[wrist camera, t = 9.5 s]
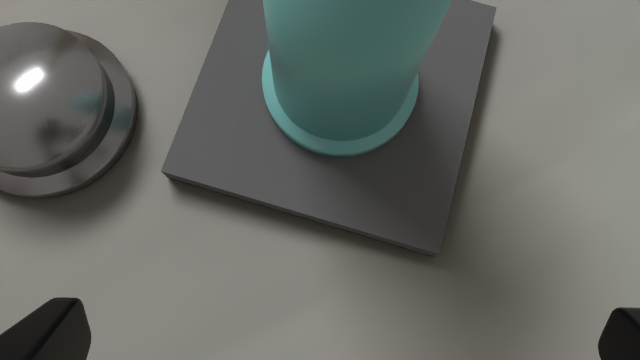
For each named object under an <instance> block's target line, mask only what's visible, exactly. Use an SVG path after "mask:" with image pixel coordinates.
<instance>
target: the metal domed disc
mask: <svg viewBox="0 0 640 360" xmlns="http://www.w3.org/2000/svg"><path fill="white" fill-rule="evenodd" d="M136 119H137V98H136V93H135V89H134V86H133V83H132V81H131V78H130V76H129V75H128V73H127V71H126V70H125V68H124V67H123V66H122V64H121V63H120V62H119V60H118V59H117V58H116V57H115V55H114V54H113V53H112V52H111V51H110V50H109V49H107V48H106V47H105V46H104V45H102V44H101V43H99V42H98V41H96V40H94V39H92V38H90V37H88V36H86V35H83V34H80V33H77V32H73V31H68V30H63V29H61V28H59V27H56V26H53V25H49V24H44V23H35V22H23V23H15V24H10V25H6V26H2V27H0V190H1V191H4V192H6V193H9V194H12V195H16V196H20V197H26V198H50V197H57V196H61V195H65V194H69V193H72V192H74V191H77V190H79V189H82V188H84V187H85V186H87V185H89V184H91V183H93V182H94V181H95V180H97V179H98V178H100V177H101V176H102V175H104V174H105V173H106V172H107V171H108V170H109V169H110V168H111V167H112V166H113V165H114V164H115V163H116V162H117V161H118V159H119V158H120V157H121V155H122V154H123V152H124V151H125V149H126V147H127V145H128V143H129V141H130V139H131V137H132V134H133V131H134V128H135V124H136Z"/></svg>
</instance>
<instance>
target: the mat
mask: <svg viewBox="0 0 640 360" xmlns="http://www.w3.org/2000/svg"><path fill="white" fill-rule="evenodd" d="M495 12H496V7H493V6H489V5H485V4H482V3H478V2H474V1H471V0H452V2H451V4H450V6H449V8H448V11H447V13H446V15H445V17H444V19H443V21H442V23H441V25H440V27H439V29H438V31H437V34H436V36H435V38H434V40H433V42H432V44H431V46H430V48H429V50H428V52H427V54H426V57H425V59H424V61H423V63H422V65H421V67H420V69H419V71H418V78H419V87H418V95H417V99H416V103H415V105H414V108H413V110H412V112H411V114H410V116H409V118H408V120H407V121H406V123H405V125H404V126H403V128H402V129H401V130H400V131H399V133H398V134H397V135H396V136H395V137H394V138H392V139H391V140H390V141H389V142H388V143H386V144H385V145H383V146H382V147H380V148H378V149H376V150H374V151H372V152H369V153H366V154H363V155H358V156H354V157H329V156H323V155H320V154H316V153H313V152H310V151H308V150H306V149H304V148H302V147H300V146H298V145H297V144H295V143H294V142H292V141H291V140H290V139H289V138H287V137H286V136H285V135H284V134H283V133H282V132H281V131H280V129H279V128H278V127H277V125H276V124H275V123H274V121H273V119H272V118H271V116H270V114H269V111H268V109H267V106H266V103H265V98H264V94H263V87H262V69H263V65H264V60H265V57H266V55H267V52H268V50H269V45H268V37H267V30H266V22H265V14H264V6H263V0H229V1H228V4H227V6H226V9H225V11H224V14H223V16H222V19H221V21H220V24H219V26H218V29H217V31H216V34H215V36H214V39H213V41H212V44H211V47H210V49H209V52H208V54H207V57H206V59H205V62H204V64H203V67H202V69H201V72H200V74H199V77H198V79H197V82H196V84H195V87H194V89H193V92H192V94H191V97H190V100H189V102H188V105H187V107H186V110H185V112H184V115H183V117H182V120H181V122H180V125H179V127H178V130H177V132H176V135H175V137H174V140H173V142H172V145H171V148H170V150H169V153H168V155H167V158H166V160H165V163H164V165H163V168H162V170H161V172H162V173H164V174H165V175H166V176H167V177H169V178H172V179H175V180H179V181H182V182H185V183H189V184H192V185H195V186H199V187H202V188H205V189H209V190H212V191H216V192H219V193H222V194H226V195H229V196H232V197H236V198H239V199H242V200H246V201H249V202H252V203H256V204H259V205H262V206H266V207H269V208H273V209H276V210H279V211H283V212H286V213H289V214H293V215H296V216H299V217H303V218H306V219H309V220H313V221H316V222H319V223H323V224H326V225H330V226H333V227H336V228H340V229H343V230H346V231H350V232H353V233H356V234H360V235H363V236H366V237H370V238H373V239H376V240H380V241H383V242H387V243H390V244H393V245H397V246H400V247H403V248H407V249H410V250H413V251H417V252H420V253H423V254H427V255H430V256H436V255H439V254H440V251H441V247H442V243H443V238H444V234H445V229H446V225H447V221H448V216H449V212H450V208H451V203H452V199H453V195H454V190H455V186H456V182H457V177H458V173H459V168H460V164H461V160H462V155H463V151H464V147H465V142H466V138H467V134H468V129H469V125H470V121H471V116H472V112H473V108H474V103H475V99H476V94H477V90H478V86H479V81H480V77H481V73H482V68H483V64H484V60H485V55H486V51H487V47H488V42H489V38H490V33H491V29H492V25H493V20H494V16H495Z"/></svg>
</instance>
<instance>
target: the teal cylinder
mask: <svg viewBox="0 0 640 360" xmlns="http://www.w3.org/2000/svg"><path fill="white" fill-rule="evenodd" d="M451 2H452V0H263V6H264V14H265V22H266V30H267V37H268V45H269V50H268V52H267V55H266V57H265V60H264V65H263V69H262V87H263V94H264V98H265V103H266V106H267V109H268V111H269V114H270V116H271V118H272V119H273V121H274V123H275V124H276V125H277V127H278V128H279V129H280V131H281V132H282V133H283V134H284V135H285V136H286V137H287V138H289V139H290V140H291V141H292V142H294V143H295V144H297V145H298V146H300V147H302V148H304V149H306V150H308V151H310V152H313V153H316V154H320V155H323V156H329V157H354V156H358V155H363V154H366V153H369V152H372V151H374V150H376V149H378V148H380V147H382V146H383V145H385V144H386V143H388V142H389V141H390V140H391V139H392V138H394V137H395V136H396V135H397V134H398V133H399V131H400V130H401V129H402V128H403V126H404V125H405V123H406V121H407V120H408V118H409V116H410V114H411V112H412V110H413V108H414V105H415V103H416V99H417V95H418V87H419V78H418V71H419V69H420V67H421V65H422V63H423V61H424V59H425V57H426V54H427V52H428V50H429V48H430V46H431V44H432V42H433V40H434V38H435V36H436V34H437V31H438V29H439V27H440V25H441V23H442V21H443V19H444V17H445V15H446V13H447V11H448V8H449V6H450V4H451Z"/></svg>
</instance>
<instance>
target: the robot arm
mask: <svg viewBox="0 0 640 360" xmlns="http://www.w3.org/2000/svg"><path fill="white" fill-rule="evenodd" d="M90 344H91V331H90V327H89V324H88V320H87V317H86V313H85V310H84V306H83V303H82V301H81V300H80V299H78V298H53V299H51V300H49V301H48V302H46V303H45V304H43V305H42V306H41V307H39V308H38V309H36V310H35V311H33V312H32V313H31V314H29V315H28V316H26V317H25V318H23V319H22V320H21V321H19V322H18V323H16V324H15V325H13V326H12V327H11V328H9V329H8V330H6V331H5V332H4V333H2V334H1V335H0V360H86V358H87V355H88V352H89V348H90ZM598 350H599V355H600V358H601V360H640V308H623V307H620V308H616V309H615V310H613V311H612V313H611V315H610V317H609V319H608V321H607V323H606V326H605V328H604V330H603V332H602V334H601V336H600V339H599V343H598Z"/></svg>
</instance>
